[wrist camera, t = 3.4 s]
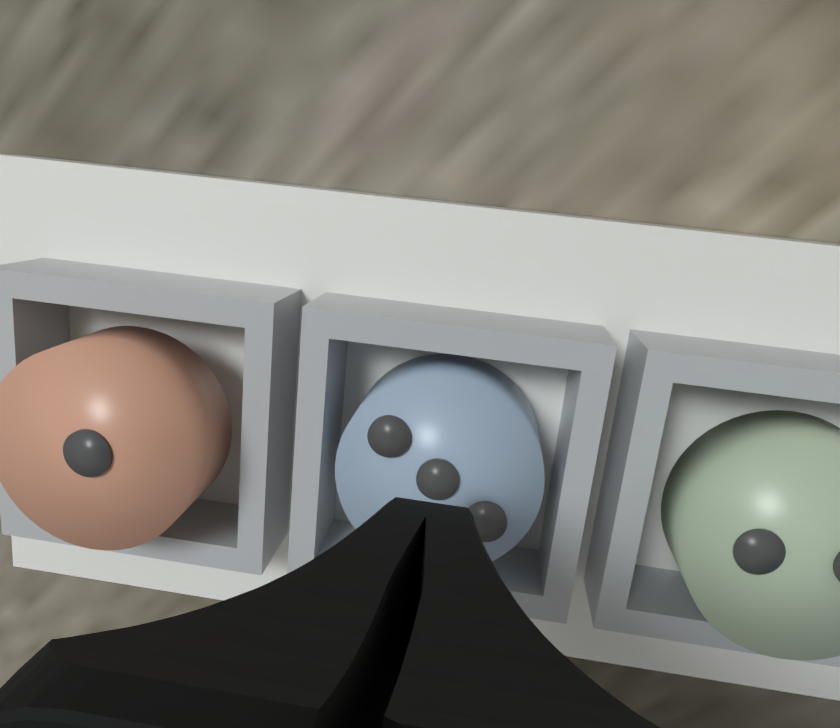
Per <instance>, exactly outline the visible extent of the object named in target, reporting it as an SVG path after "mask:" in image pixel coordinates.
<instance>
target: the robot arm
mask: <svg viewBox="0 0 840 728" xmlns="http://www.w3.org/2000/svg"><path fill="white" fill-rule="evenodd" d="M0 728H659V727H658V726H656V725H655V724H653V723H651V722H650V721H648V720H646V719H645V718H643V717H641V716H640V715H638V714H637V713H635V712H634V711H632V710H631V709H630V708H628V707H627V706H626V705H624V704H623V703H622V702H620V701H619V700H617V699H616V698H615V697H613V696H612V695H611V694H609V693H608V692H607V691H605V690H604V689H603V688H601V687H600V686H599V685H598V684H596V683H595V682H594V681H593V680H591V679H590V678H589V677H588V676H587V675H585V674H584V673H583V672H582V671H581V670H579V669H578V668H577V667H576V666H575V665H574V664H573V663H572V662H571V661H570V660H569V659H568V658H567V657H565V656H564V655H563V654H562V653H561V652H560V651H559V650H558V649H557V648H556V647H555V646H554V645H553V644H552V643H551V642H550V641H549V640H548V639H547V638H546V637H545V636H544V635H543V634H542V633H541V632H540V630H539V629H538V628H537V627H536V626H535V625H534V623H533V622H532V621H531V620H530V619H529V618H528V616H527V615H526V614H525V613H524V611H523V610H522V608H521V607H520V606H519V604H518V603H517V601H516V600H515V598H514V597H513V595H512V594H511V592H510V591H509V589H508V588H507V586H506V585H505V583H504V582H503V580H502V578H501V577H500V575H499V573H498V571H497V570H496V568H495V566H494V564H493V562H492V560H491V559H490V557H489V555H488V553H487V551H486V549H485V547H484V545H483V542H482V540H481V538H480V535H479V533H478V530H477V528H476V525H475V522H474V518H473V514H472V513H471V512H470V510H469V509H468V508H467V507H460V506H453V505H446V504H440V503H433V502H426V501H420V500H413V499H406V498H399V497H395V498H394V499H392V500H391V501H389V502H388V503H387V504H386V505H384V506H383V507H382V508H381V509H380V510H378V511H377V512H376V513H375V514H374V515H373V516H371V517H370V518H369V519H368V520H367V521H365V522H364V523H363V524H362V525H360V526H359V527H358V528H357V529H355V530H354V531H353V532H351V533H350V534H349V535H347V536H346V537H345V538H343V539H342V540H341V541H339V542H338V543H337V544H335V545H334V546H332V547H331V548H329V549H328V550H326V551H325V552H323V553H322V554H320V555H319V556H317V557H316V558H314V559H313V560H311V561H309V562H308V563H306V564H304V565H302V566H301V567H299V568H297V569H295V570H293V571H291V572H290V573H288V574H286V575H284V576H282V577H279V578H277V579H275V580H273V581H271V582H269V583H267V584H265V585H263V586H260V587H258V588H256V589H253V590H251V591H248V592H245V593H243V594H240V595H237V596H235V597H232V598H229V599H227V600H224V601H221V602H219V603H216V604H214V605H211V606H208V607H205V608H202V609H198V610H195V611H191V612H188V613H185V614H181V615H178V616H174V617H170V618H166V619H162V620H158V621H154V622H150V623H146V624H141V625H137V626H132V627H127V628H121V629H115V630H109V631H103V632H98V633H92V634H86V635H80V636H74V637H67V638H60V639H52V640H51V641H50V642H48V643H47V644H46V645H45V646H44V647H43V648H42V649H41V650H39V651H38V652H37V653H36V654H35V655H34V656H33V657H32V658H31V659H30V660H29V661H28V662H27V663H25V664H24V665H23V666H22V667H21V668H20V669H19V670H18V671H17V672H16V673H15V674H14V675H13V676H12V677H11V678H10V679H9V680H8V681H7V682H6V683H5V684H4V685H3V686H2V687H1V688H0Z"/></svg>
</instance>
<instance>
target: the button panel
mask: <svg viewBox="0 0 840 728" xmlns="http://www.w3.org/2000/svg"><path fill="white" fill-rule="evenodd" d="M115 326H139V327H144V328H149V329H153V330H156V331H159V332H162V333H165V334H167V335H169V336H171V337H173V338H175V339H177V340H178V341H180V342H182V343H183V344H185V345H186V346H188V347H189V348H190V349H191V350H193V351H194V352H195V353H196V354H197V355H198V356H199V357H200V358H201V359H202V360H203V361H204V362H205V363H206V364H207V365H208V367H209V368H210V369H211V371H212V372H213V373H214V375H215V376H216V378H217V380H218V381H219V383H220V385H221V387H222V389H223V391H224V394H225V396H226V399H227V402H228V406H229V409H230V415H231V421H232V437H231V445H230V450H229V454H228V457H227V459H226V462H225V464H224V466H223V468H222V470H221V472H220V473H219V475H218V476H217V478H216V479H215V480H214V481H213V482H212V484H211V485H210V486H209V487H208V488H207V489H206V490H205V491H204V492H203V493H202V494H201V495H200V496H199V497H198V498H197V499H196V500H195V501H194V502H193V503H192V504H191V505H190V506H189V507H188V508H187V509H186V510H185V512H184V513H183V514H182V515H181V516H180V517H179V518H178V519H177V520H176V521H175V522H174V523H173V524H172V525H171V526H170V527H169V528H168V529H166V530H165V531H164V532H163V533H162V534H160V535H159V536H157V537H156V538H154V539H153V540H151V541H148V542H146V543H144V544H142V545H139V546H136V547H132V548H128V549H122V550H106V551H105V550H94V549H88V548H84V547H79V546H76V545H73V544H71V543H68V542H65V541H63V540H61V539H59V538H57V537H55V536H53V535H51V534H49V533H48V532H46V531H45V530H43V529H41V528H40V527H39V526H38V525H36V524H35V523H34V522H32V521H31V520H30V519H29V518H28V517H27V516H26V515H25V514H24V513H23V512H22V511H21V510H20V509H19V508H18V507H17V506H16V504H15V503H14V502H13V501H12V500H11V498H10V497H9V495H8V494H7V492H6V491H5V489H4V488H3V486H2V484H1V482H0V511H1V527H2V534H4V535H10V536H12V552H13V566H16V567H23V568H29V569H35V570H41V571H47V572H53V573H59V574H65V575H72V576H78V577H84V578H90V579H96V580H102V581H108V582H115V583H121V584H127V585H133V586H139V587H145V588H151V589H157V590H164V591H170V592H176V593H182V594H188V595H194V596H200V597H207V598H213V599H219V600H227V599H229V598H232V597H235V596H237V595H240V594H243V593H245V592H248V591H251V590H253V589H256V588H258V587H260V586H263V585H265V584H267V583H269V582H271V581H273V580H275V579H277V578H279V577H282V576H284V575H286V574H288V573H290V572H291V571H293V570H295V569H297V568H299V567H301V566H302V565H304V564H306V563H308V562H309V561H311V560H313V559H314V558H316V557H317V556H319V555H320V554H322V553H323V552H325V551H326V550H328V549H329V548H331V547H332V546H334V545H335V544H337V543H338V542H339V541H341V540H342V539H343V538H345V537H346V536H347V535H349V534H350V533H351V532H353V531H354V530H355V528H354V527H353V525H352V524H351V522H350V521H349V519H348V517H347V515H346V514H345V512H344V509H343V507H342V505H341V502H340V499H339V496H338V492H337V488H336V480H335V461H336V454H337V449H338V446H339V442H340V439H341V437H342V435H343V432H344V430H345V428H346V426H347V425H348V423H349V422H350V420H351V419H352V417H353V415H354V414H355V412H356V411H357V409H358V408H359V406H360V405H361V403H362V401H363V400H364V398H365V397H366V395H367V394H368V392H369V391H370V389H371V388H372V387H373V385H374V384H375V383H376V382H377V381H378V380H379V379H380V378H381V377H382V376H383V375H384V374H386V373H387V372H388V371H390V370H391V369H393V368H394V367H396V366H397V365H399V364H401V363H404V362H406V361H408V360H411V359H414V358H417V357H420V356H425V355H430V354H453V355H461V356H468V357H471V358H474V359H477V360H480V361H483V362H485V363H487V364H489V365H491V366H493V367H494V368H496V369H497V370H499V371H501V372H502V373H503V374H505V375H506V376H507V377H508V378H509V379H511V380H512V381H513V382H514V383H515V385H516V386H517V387H518V388H519V389H520V390H521V392H522V393H523V394H524V396H525V397H526V399H527V400H528V402H529V404H530V406H531V408H532V410H533V413H534V415H535V418H536V421H537V426H538V431H539V437H540V444H541V450H542V457H543V464H544V476H545V483H544V494H543V498H542V502H541V506H540V509H539V511H538V514H537V516H536V519H535V520H534V522H533V524H532V526H531V527H530V529H529V530H528V532H527V533H526V534H525V536H524V537H523V538H522V539H521V540H520V541H519V542H518V543H517V544H516V545H515V546H514V547H513V548H512V549H511V550H509V551H508V552H507V553H505V554H504V555H503V556H501V557H499V558H497V559H496V560H494V561H492V562H493V564H494V566H495V568H496V570H497V571H498V573H499V575H500V577H501V578H502V580H503V582H504V583H505V585H506V586H507V588H508V589H509V591H510V592H511V594H512V595H513V597H514V598H515V600H516V601H517V603H518V604H519V606H520V607H521V608H522V610H523V611H524V613H525V614H526V615H527V616H528V618H529V619H530V620H531V621H532V622H533V623H534V625H535V626H536V627H537V628H538V629H539V630H540V632H541V633H542V634H543V635H544V636H545V637H546V638H547V639H548V640H549V641H550V642H551V643H552V644H553V645H554V646H555V647H556V648H557V649H558V650H559V651H560V652H561V653H562V654H563V655H564V656H568V657H575V658H581V659H587V660H593V661H599V662H605V663H611V664H618V665H624V666H630V667H636V668H642V669H648V670H654V671H661V672H667V673H673V674H679V675H685V676H691V677H697V678H703V679H710V680H716V681H722V682H728V683H734V684H740V685H746V686H753V687H759V688H765V689H771V690H777V691H783V692H789V693H795V694H802V695H808V696H814V697H820V698H826V699H832V700H838V701H840V656H837V657H832V658H827V659H818V660H787V659H779V658H774V657H769V656H765V655H762V654H759V653H756V652H753V651H750V650H748V649H746V648H744V647H742V646H739V645H737V644H736V643H734V642H732V641H731V640H729V639H728V638H726V637H725V636H723V635H722V634H721V633H720V632H719V631H717V630H716V629H715V628H714V627H713V626H712V625H711V624H710V623H709V622H708V621H707V620H706V619H705V617H704V616H703V615H702V613H701V612H700V610H699V609H698V607H697V606H696V604H695V602H694V600H693V598H692V596H691V594H690V592H689V589H688V587H687V585H686V583H685V581H684V578H683V576H682V574H681V572H680V570H679V568H678V565H677V563H676V561H675V559H674V557H673V554H672V552H671V550H670V548H669V546H668V544H667V541H666V538H665V535H664V532H663V528H662V521H661V501H662V494H663V490H664V487H665V483H666V481H667V478H668V476H669V474H670V472H671V470H672V468H673V466H674V465H675V463H676V462H677V460H678V458H679V457H680V456H681V455H682V454H683V452H684V451H685V450H686V449H687V448H688V447H689V446H690V445H691V444H692V443H693V442H694V441H695V440H696V439H697V438H699V437H700V436H701V435H703V434H704V433H705V432H707V431H708V430H710V429H712V428H713V427H715V426H717V425H719V424H720V423H723V422H725V421H727V420H730V419H732V418H735V417H738V416H741V415H745V414H748V413H754V412H760V411H770V410H785V411H795V412H801V413H806V414H810V415H813V416H816V417H819V418H822V419H824V420H826V421H828V422H830V423H832V424H834V425H836V426H837V427H839V428H840V244H835V243H826V242H817V241H808V240H798V239H789V238H780V237H771V236H762V235H752V234H743V233H734V232H725V231H716V230H707V229H697V228H688V227H679V226H670V225H661V224H651V223H642V222H633V221H624V220H615V219H605V218H596V217H587V216H578V215H569V214H559V213H550V212H541V211H532V210H523V209H513V208H504V207H495V206H486V205H477V204H468V203H458V202H449V201H440V200H431V199H422V198H412V197H403V196H394V195H385V194H376V193H366V192H357V191H348V190H339V189H330V188H320V187H311V186H302V185H293V184H284V183H274V182H265V181H256V180H247V179H238V178H229V177H219V176H210V175H201V174H192V173H183V172H173V171H164V170H155V169H146V168H137V167H127V166H118V165H109V164H100V163H91V162H81V161H72V160H63V159H54V158H45V157H35V156H23V155H6V154H0V384H1V382H2V381H3V379H4V378H5V377H6V376H7V374H8V373H9V372H10V371H11V370H12V369H13V368H14V367H15V366H17V365H18V364H19V363H20V362H22V361H23V360H25V359H27V358H28V357H30V356H32V355H34V354H36V353H39V352H42V351H44V350H47V349H50V348H52V347H55V346H58V345H61V344H63V343H66V342H69V341H72V340H74V339H77V338H80V337H83V336H85V335H88V334H91V333H94V332H96V331H99V330H102V329H106V328H110V327H115Z"/></svg>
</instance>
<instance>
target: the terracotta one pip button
mask: <svg viewBox="0 0 840 728" xmlns="http://www.w3.org/2000/svg"><path fill="white" fill-rule="evenodd" d="M231 437H232V421H231V415H230V409H229V406H228V402H227V399H226V396H225V394H224V391H223V389H222V387H221V385H220V383H219V381H218V380H217V378H216V376H215V375H214V373H213V372H212V371H211V369H210V368H209V367H208V365H207V364H206V363H205V362H204V361H203V360H202V359H201V358H200V357H199V356H198V355H197V354H196V353H195V352H194V351H193V350H191V349H190V348H189V347H188V346H186V345H185V344H183V343H182V342H180V341H178V340H177V339H175V338H173V337H171V336H169V335H167V334H165V333H162V332H159V331H156V330H153V329H149V328H144V327H139V326H115V327H110V328H106V329H102V330H99V331H96V332H94V333H91V334H88V335H85V336H83V337H80V338H77V339H74V340H72V341H69V342H66V343H63V344H61V345H58V346H55V347H52V348H50V349H47V350H44V351H42V352H39V353H36V354H34V355H32V356H30V357H28V358H27V359H25V360H23V361H22V362H20V363H19V364H18V365H17V366H15V367H14V368H13V369H12V370H11V371H10V372H9V373H8V374H7V376H6V377H5V378H4V379H3V381H2V382H1V384H0V482H1V484H2V486H3V488H4V489H5V491H6V492H7V494H8V495H9V497H10V498H11V500H12V501H13V502H14V503H15V504H16V506H17V507H18V508H19V509H20V510H21V511H22V512H23V513H24V514H25V515H26V516H27V517H28V518H29V519H30V520H31V521H32V522H34V523H35V524H36V525H38V526H39V527H40V528H41V529H43V530H45V531H46V532H48V533H49V534H51V535H53V536H55V537H57V538H59V539H61V540H63V541H65V542H68V543H71V544H73V545H76V546H79V547H84V548H88V549H94V550H105V551H106V550H122V549H128V548H132V547H136V546H139V545H142V544H144V543H146V542H148V541H151V540H153V539H154V538H156V537H157V536H159V535H160V534H162V533H163V532H164V531H165V530H166V529H168V528H169V527H170V526H171V525H172V524H173V523H174V522H175V521H176V520H177V519H178V518H179V517H180V516H181V515H182V514H183V513H184V512H185V510H186V509H187V508H188V507H189V506H190V505H191V504H192V503H193V502H194V501H195V500H196V499H197V498H198V497H199V496H200V495H201V494H202V493H203V492H204V491H205V490H206V489H207V488H208V487H209V486H210V485H211V484H212V482H213V481H214V480H215V479H216V478H217V476H218V475H219V473H220V472H221V470H222V468H223V466H224V464H225V462H226V459H227V457H228V454H229V450H230V445H231Z"/></svg>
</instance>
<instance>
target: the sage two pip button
mask: <svg viewBox="0 0 840 728" xmlns="http://www.w3.org/2000/svg"><path fill="white" fill-rule="evenodd" d="M661 521H662V528H663V532H664V535H665V538H666V541H667V544H668V546H669V548H670V550H671V552H672V554H673V557H674V559H675V561H676V563H677V565H678V568H679V570H680V572H681V574H682V576H683V578H684V581H685V583H686V585H687V587H688V589H689V592H690V594H691V596H692V598H693V600H694V602H695V604H696V606H697V607H698V609H699V610H700V612H701V613H702V615H703V616H704V617H705V619H706V620H707V621H708V622H709V623H710V624H711V625H712V626H713V627H714V628H715V629H716V630H717V631H719V632H720V633H721V634H722V635H723V636H725V637H726V638H728V639H729V640H731V641H732V642H734V643H736V644H737V645H739V646H742V647H744V648H746V649H748V650H750V651H753V652H756V653H759V654H762V655H765V656H769V657H774V658H779V659H787V660H818V659H827V658H832V657H837V656H840V428H839V427H837V426H836V425H834V424H832V423H830V422H828V421H826V420H824V419H822V418H819V417H816V416H813V415H810V414H806V413H801V412H795V411H785V410H770V411H760V412H754V413H748V414H745V415H741V416H738V417H735V418H732V419H730V420H727V421H725V422H723V423H720V424H719V425H717V426H715V427H713V428H712V429H710V430H708V431H707V432H705V433H704V434H703V435H701V436H700V437H699V438H697V439H696V440H695V441H694V442H693V443H692V444H691V445H690V446H689V447H688V448H687V449H686V450H685V451H684V452H683V454H682V455H681V456H680V457H679V458H678V460H677V462H676V463H675V465H674V466H673V468H672V470H671V472H670V474H669V476H668V478H667V481H666V483H665V487H664V490H663V494H662V501H661Z"/></svg>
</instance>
